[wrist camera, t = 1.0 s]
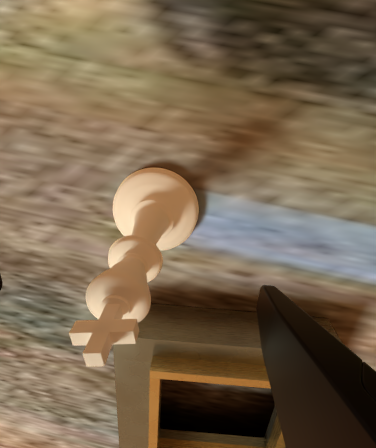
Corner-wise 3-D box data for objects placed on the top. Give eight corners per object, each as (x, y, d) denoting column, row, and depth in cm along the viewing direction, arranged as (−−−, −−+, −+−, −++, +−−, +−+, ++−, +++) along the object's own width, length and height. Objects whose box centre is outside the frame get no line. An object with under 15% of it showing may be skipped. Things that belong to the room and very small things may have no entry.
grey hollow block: (327, 318, 18) (366, 382, 14) (278, 448, 25) (294, 518, 20) (125, 301, 18) (103, 359, 14) (129, 435, 25) (115, 502, 21)
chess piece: (106, 170, 14) (-51, 278, 5) (195, 164, 14) (189, 267, 5) (123, 248, 16) (28, 423, 7) (201, 244, 16) (203, 422, 7)
